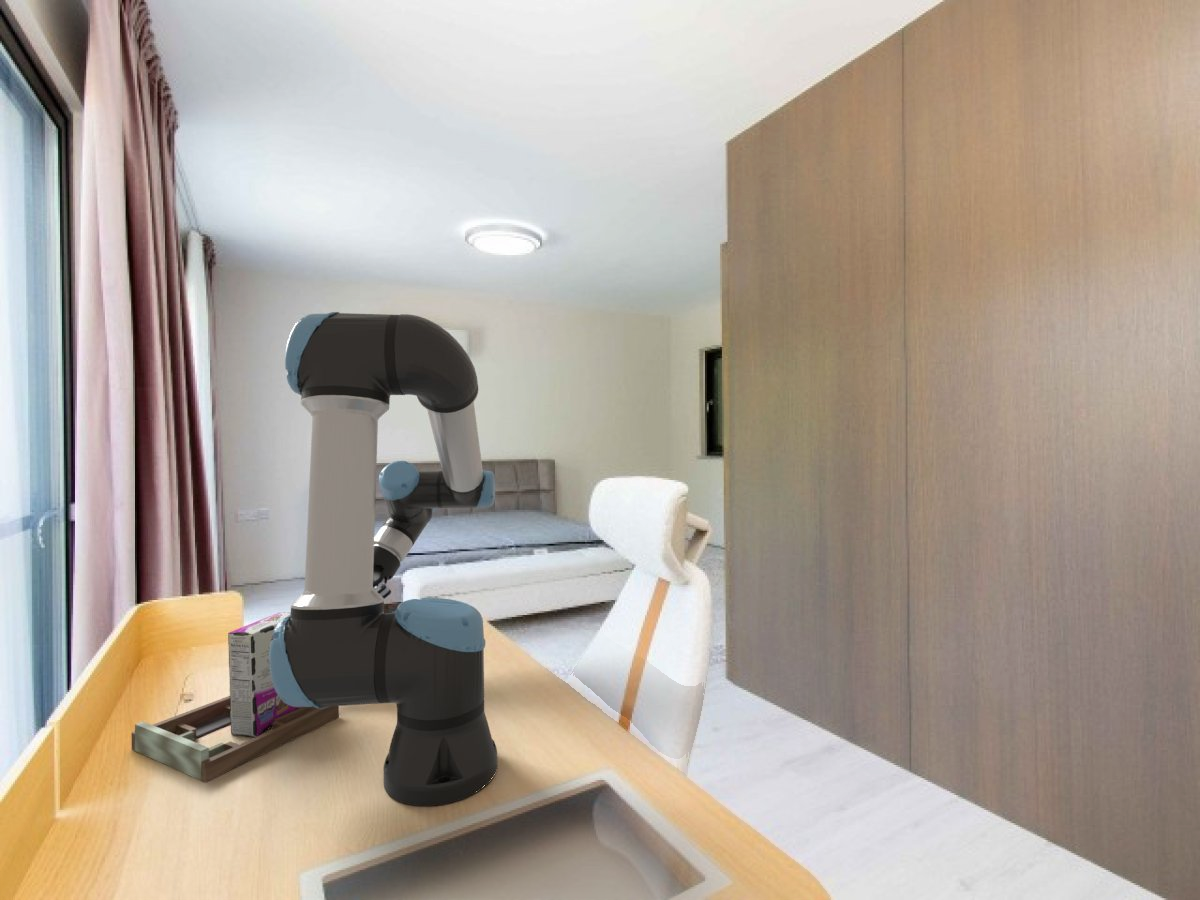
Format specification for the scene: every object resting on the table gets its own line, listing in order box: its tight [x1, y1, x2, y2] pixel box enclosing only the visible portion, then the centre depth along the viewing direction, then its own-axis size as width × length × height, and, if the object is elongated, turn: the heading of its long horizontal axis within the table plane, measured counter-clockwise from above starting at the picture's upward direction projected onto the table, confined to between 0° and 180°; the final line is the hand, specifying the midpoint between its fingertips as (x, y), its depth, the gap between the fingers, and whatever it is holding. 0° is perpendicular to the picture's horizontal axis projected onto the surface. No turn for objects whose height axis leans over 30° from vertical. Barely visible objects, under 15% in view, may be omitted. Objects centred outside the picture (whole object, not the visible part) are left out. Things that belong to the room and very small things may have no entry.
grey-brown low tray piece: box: [130, 695, 340, 783], centre depth 92 cm, size 19×21×4 cm
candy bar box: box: [227, 611, 301, 738], centre depth 96 cm, size 11×5×16 cm, turn 168°
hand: (312, 663), depth 103 cm, fingers closed
